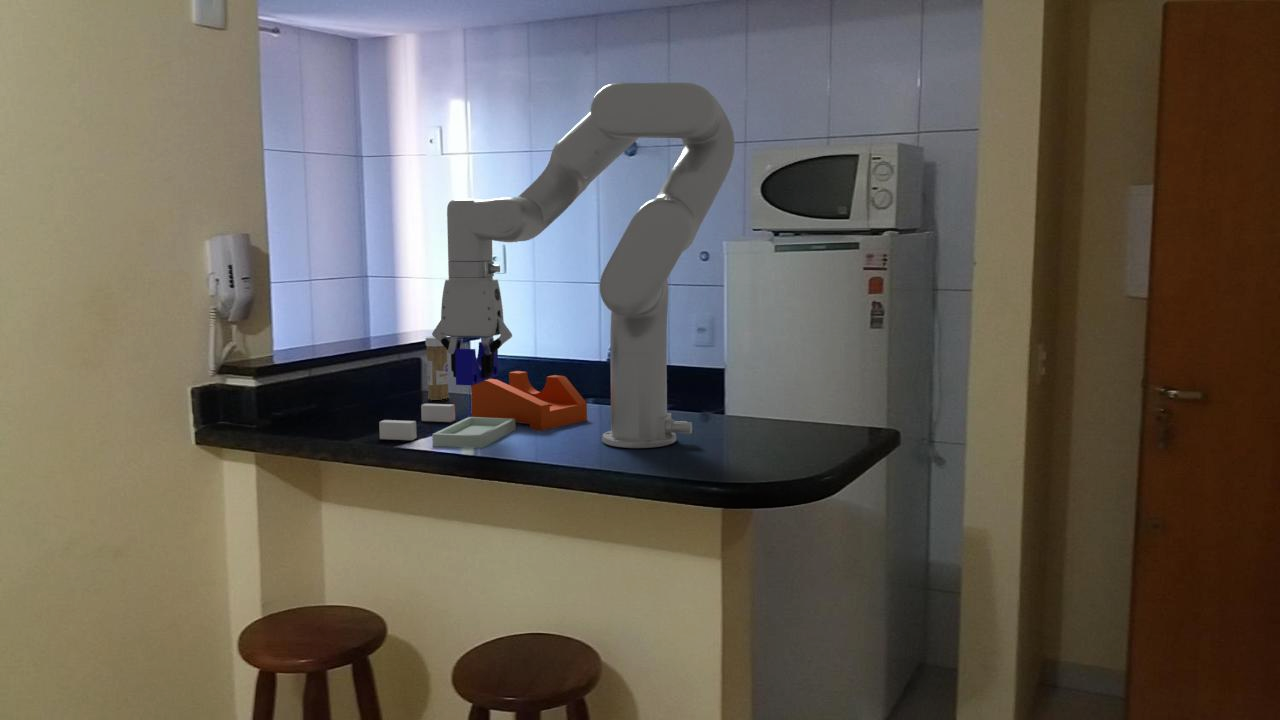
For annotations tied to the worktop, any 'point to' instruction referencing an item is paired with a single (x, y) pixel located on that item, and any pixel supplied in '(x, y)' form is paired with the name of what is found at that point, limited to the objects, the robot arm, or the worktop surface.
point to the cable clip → (471, 366)
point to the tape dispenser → (529, 401)
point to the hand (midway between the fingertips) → (472, 375)
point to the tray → (474, 432)
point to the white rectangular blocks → (408, 428)
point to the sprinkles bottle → (437, 369)
